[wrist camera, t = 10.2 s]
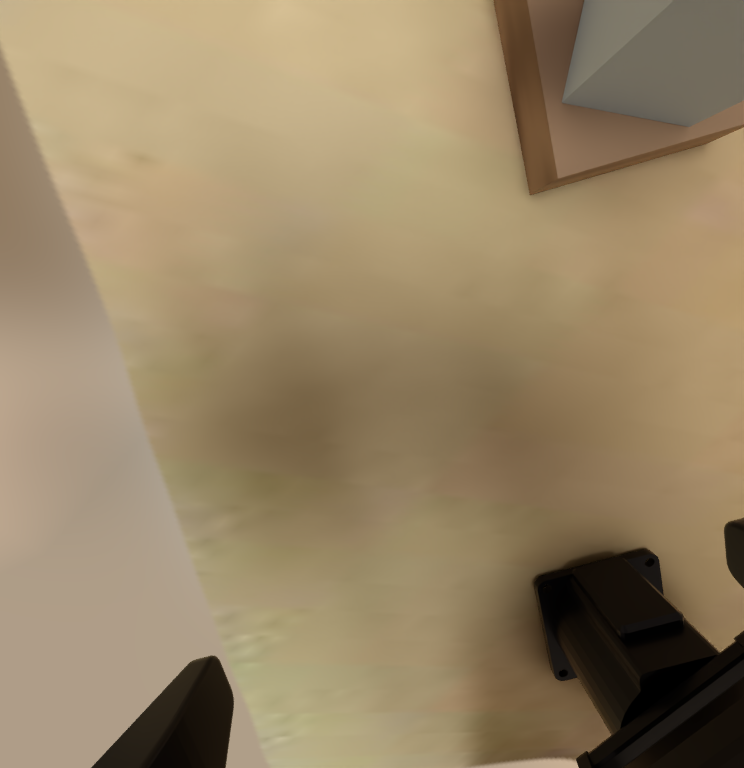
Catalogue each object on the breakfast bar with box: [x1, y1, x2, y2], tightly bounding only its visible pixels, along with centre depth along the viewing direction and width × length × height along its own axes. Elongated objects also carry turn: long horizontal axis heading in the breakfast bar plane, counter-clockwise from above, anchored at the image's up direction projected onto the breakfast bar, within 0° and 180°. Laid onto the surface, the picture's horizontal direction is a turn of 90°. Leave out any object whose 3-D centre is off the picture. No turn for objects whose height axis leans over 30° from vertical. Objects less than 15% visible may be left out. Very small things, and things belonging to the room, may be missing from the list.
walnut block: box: [494, 0, 744, 195], centre depth 16 cm, size 8×8×3 cm
